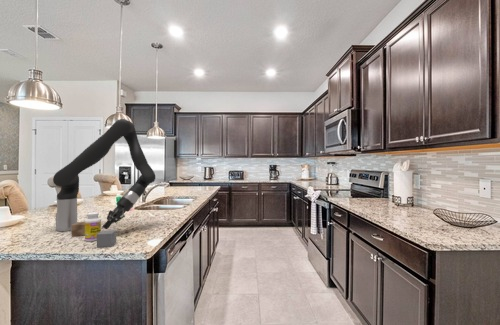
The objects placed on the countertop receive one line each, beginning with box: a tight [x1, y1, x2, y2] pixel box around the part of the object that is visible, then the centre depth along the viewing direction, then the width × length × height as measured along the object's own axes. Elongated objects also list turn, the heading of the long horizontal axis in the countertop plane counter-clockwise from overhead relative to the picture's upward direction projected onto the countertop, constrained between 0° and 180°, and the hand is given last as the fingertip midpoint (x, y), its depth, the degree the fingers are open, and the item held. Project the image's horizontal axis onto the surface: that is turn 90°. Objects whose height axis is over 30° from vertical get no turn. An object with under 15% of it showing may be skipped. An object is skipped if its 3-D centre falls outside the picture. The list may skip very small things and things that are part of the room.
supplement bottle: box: [84, 211, 102, 242], centre depth 122 cm, size 7×7×13 cm
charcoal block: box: [96, 229, 117, 249], centre depth 114 cm, size 6×6×6 cm
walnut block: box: [71, 221, 85, 238], centre depth 130 cm, size 6×6×6 cm
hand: (104, 228), depth 126 cm, fingers closed
